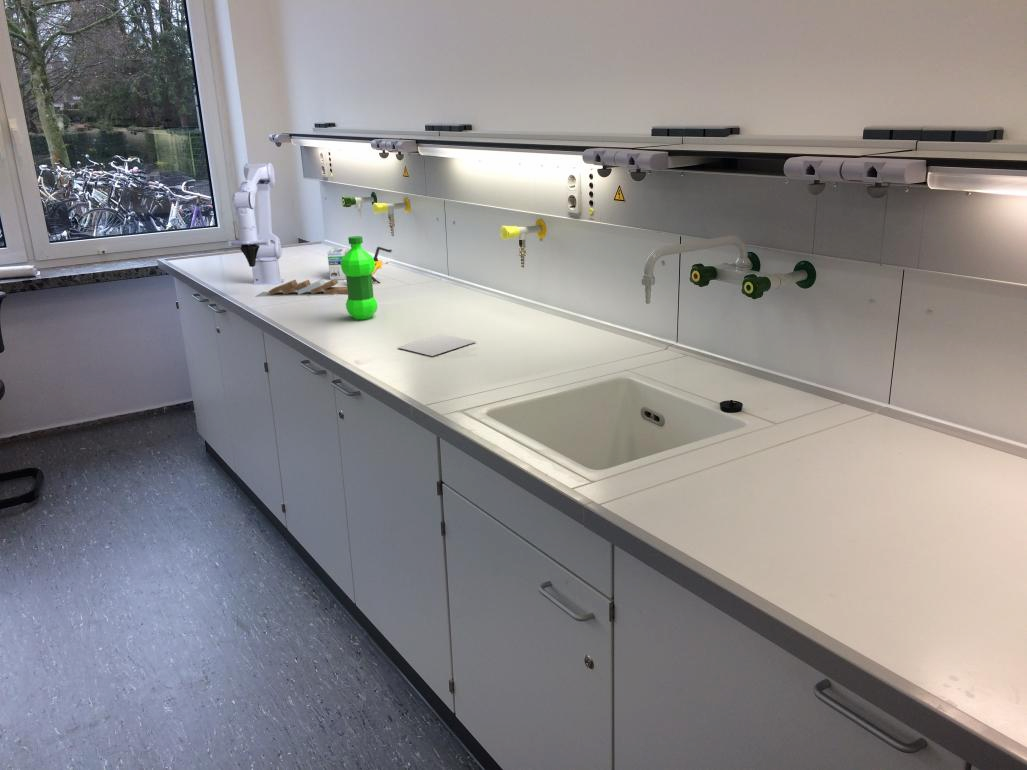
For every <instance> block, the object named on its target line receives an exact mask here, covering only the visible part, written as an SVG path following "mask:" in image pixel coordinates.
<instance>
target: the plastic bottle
mask: <svg viewBox="0 0 1027 770" xmlns="http://www.w3.org/2000/svg"><path fill="white" fill-rule="evenodd" d="M347 238H348V239H347V240H348V244H349V245H350V249H349V251H348V252H347V253H346V254H345V255H344V256H343V257H342V259H341V268H342V271H343V273H344V274H345V275H346V279H345V281H346V287H347V290H348V294H347V299H346V303H345V308H346V311H347V313H348V315H350V316H351V317H352V318H354V320H359V321H363V320H369V319H370V318H371V319H372V317H373V316H374V314H376V312H377V309H378V302H377V300H376V297H374V286H373V280H372V276H373V275H372V273H373V272H374V270H375V261H374V256H372V255H371V254H370V253H369V252H368V251H366V249H364V248H362V244H363V243H364V242H363V236H360V235H356V236H355V235H353V236H349V237H347Z"/></svg>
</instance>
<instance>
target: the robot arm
mask: <svg viewBox="0 0 1027 770" xmlns="http://www.w3.org/2000/svg"><path fill="white" fill-rule="evenodd" d="M243 175H244V180H243V181H242V182H241V183H240V186H239V188H238V189H237V191H236V192H235V193H233V194H232V206H233V209H234V214H235V215H236V219H237V227H238V232H239V239H229V240H227V244H228V245H227V246H228V247H240V251H241V252H242V254H243V255H244V256H245V259H246V261H247V263H248V265H249V268H251V271H252V278H253V284H252V285H256V286H257V285H258V286H259V285H279V284H280V283H283V282H284V281H285V279H284V278H281V274H280V273H281V272H280V265H279V259H280V258H281V257H282V252H283V250H282V249H283V248H282V245H281V239H280V238H279V236H277V235H276V234H274V233H273V226H272V225H273V224H272V221H273V220H272V204H271V202H272V201H271V190H272V188H274V187H275V184H276V181H275V169H274V166H273V164H272V163H271V162H262V163H261V162H260V163H247V162H246V163H245V164H244V165H243ZM256 199H257V200H256ZM256 201H257V202H256ZM256 203H257V219H258V221H257V222H258V232H257V226H256V220H255V219H256V218H255V210H254V208H255V207H256ZM257 233H258V234H257Z"/></svg>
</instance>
